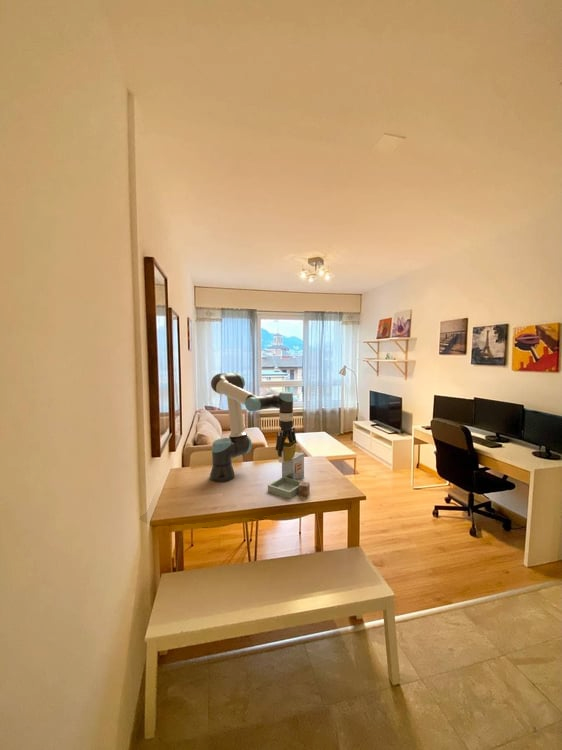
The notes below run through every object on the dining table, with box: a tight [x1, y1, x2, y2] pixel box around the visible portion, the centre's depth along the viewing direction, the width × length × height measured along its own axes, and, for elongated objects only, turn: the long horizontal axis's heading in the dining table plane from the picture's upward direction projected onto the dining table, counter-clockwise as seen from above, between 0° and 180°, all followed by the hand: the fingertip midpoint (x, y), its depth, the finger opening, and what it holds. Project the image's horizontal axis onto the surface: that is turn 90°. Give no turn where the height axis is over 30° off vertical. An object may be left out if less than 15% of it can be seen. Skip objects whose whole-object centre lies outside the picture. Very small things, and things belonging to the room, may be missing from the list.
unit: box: [281, 451, 305, 481], centre depth 186 cm, size 9×13×15 cm
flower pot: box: [276, 441, 297, 462], centre depth 170 cm, size 9×9×9 cm
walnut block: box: [298, 481, 311, 498], centre depth 165 cm, size 5×5×6 cm
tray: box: [267, 476, 302, 500], centre depth 171 cm, size 15×15×4 cm
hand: (286, 459), depth 170 cm, fingers closed on flower pot, 9 cm apart
